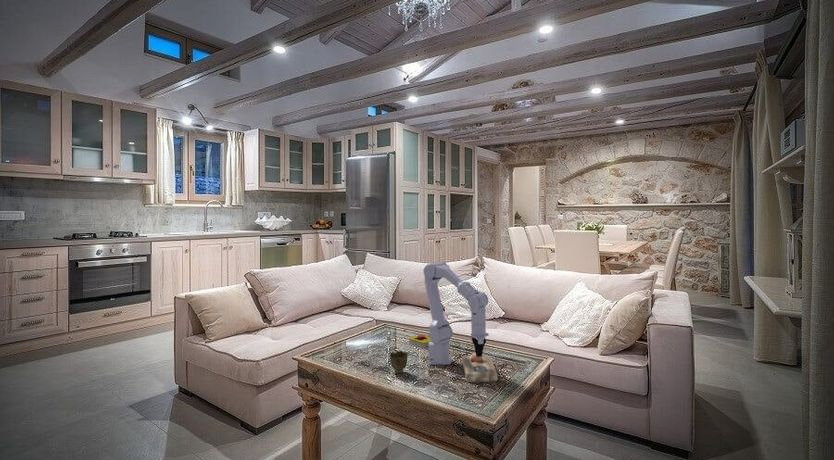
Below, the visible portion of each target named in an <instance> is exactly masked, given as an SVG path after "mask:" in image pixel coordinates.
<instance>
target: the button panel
mask: <svg viewBox="0 0 834 460" xmlns="http://www.w3.org/2000/svg"><path fill="white" fill-rule="evenodd" d="M461 363H462V367H463V373H464V376H465V377H464V378H465V380H466V382H467V383H470V382H471V383H472V382H475V383H477V382H478V383H479V382H480V383H481V382H483V383H484V382H485V383H486V382H498V381H499V380H498V371H497V370H496V368H495V365H494V363H493V361H492V359H491V356H490V355H482V362H472V355H462V356H461ZM476 366H484V367H485V368H486V372H475V367H476Z"/></svg>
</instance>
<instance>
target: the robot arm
mask: <svg viewBox="0 0 834 460" xmlns="http://www.w3.org/2000/svg"><path fill="white" fill-rule="evenodd" d="M422 270H423V276H424V286H425V290H426V291H425V292H426V296H427V300H428V306H429V310H430V316H431V320H432V321H431V323H430V324H429V326H428V329H429V332H428V337H430V340H431V341H432V342H429V349H428V354H427V358H428V364H429V365H451V364H452V361H451V355H450V341H451V339H452V337H453V334H454V332H453V329H452V327H451V325H450V322H449V321H448V320H447V319H446V318H445V314H444V310H443V305H442V304H443V303H442V301H441V295H440V292H439V290H440V289H439V285H438V283H439V282H440V280H441V279H445V280H447V281H448V282H450V284H452V285H453V286H454V287H455V288H456V289H457V290H456V291H457V293H459V295H461V296H462V297H463V298H464V300H466V301H467V305H468V306H469V308H470V309H469V310H470V313H471V315H470V316H471V317H470V319H471V322H470V323H471V330H470V331H471V333H470V336H471V338H470V339H471V342H472V343H473V346H474V353H476V356H477V357H482V356H483V352H484V347H485V345H486V343H487V340H486V337H489V336H490V335H489V333H488V332H487V330H486V328H487V327H486V324H487V321H486V319H487V318H486V306H487V305H488V304H489V298H488V295H487V294H486V293H485V292H482V291H479V290H478V289H476V288H475V287H474V286H472V285H471V282H469V281H463V280H462V279H461V278H460V277H458V275H457V274H456V273H455V272H454V271H453V270H452V269H451V268H450V265H449V264H447V262H445V261H438V262H430V263H427V264H426V265H425V266H424V268H423V269H422Z"/></svg>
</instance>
